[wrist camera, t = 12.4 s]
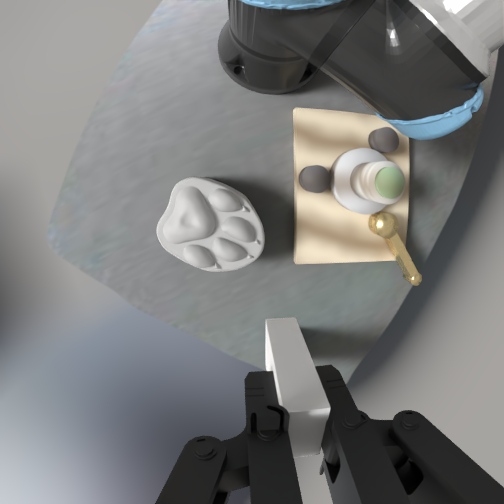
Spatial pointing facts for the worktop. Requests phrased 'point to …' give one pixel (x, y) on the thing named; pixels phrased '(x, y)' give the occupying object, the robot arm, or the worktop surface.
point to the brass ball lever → (394, 243)
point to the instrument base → (321, 208)
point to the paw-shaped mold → (211, 226)
